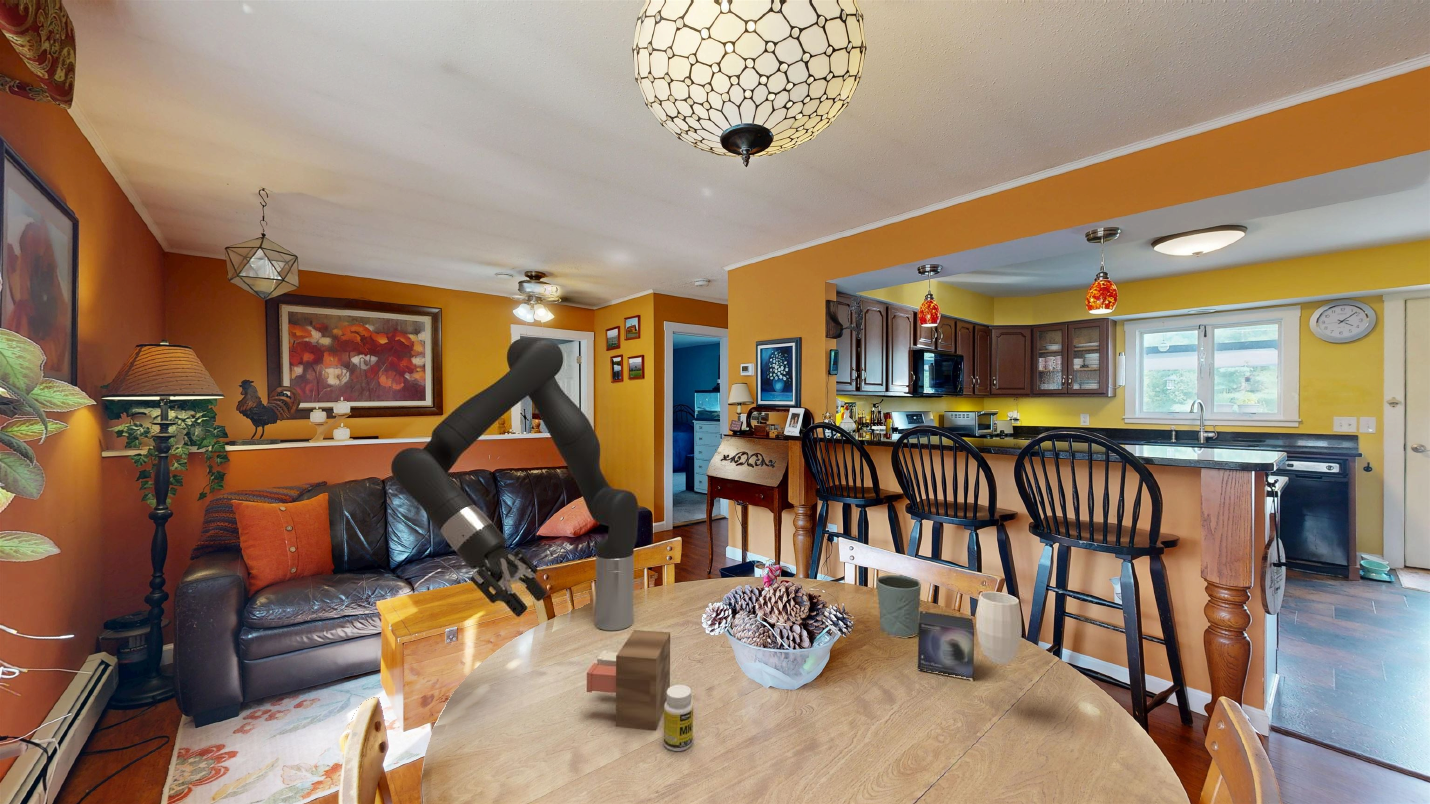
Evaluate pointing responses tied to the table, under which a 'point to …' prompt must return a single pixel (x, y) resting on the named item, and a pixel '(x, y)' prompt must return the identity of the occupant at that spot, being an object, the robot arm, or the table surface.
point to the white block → (607, 658)
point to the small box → (946, 644)
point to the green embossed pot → (899, 604)
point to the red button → (601, 678)
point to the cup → (999, 626)
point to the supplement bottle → (678, 718)
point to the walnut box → (642, 679)
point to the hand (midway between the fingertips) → (533, 604)
